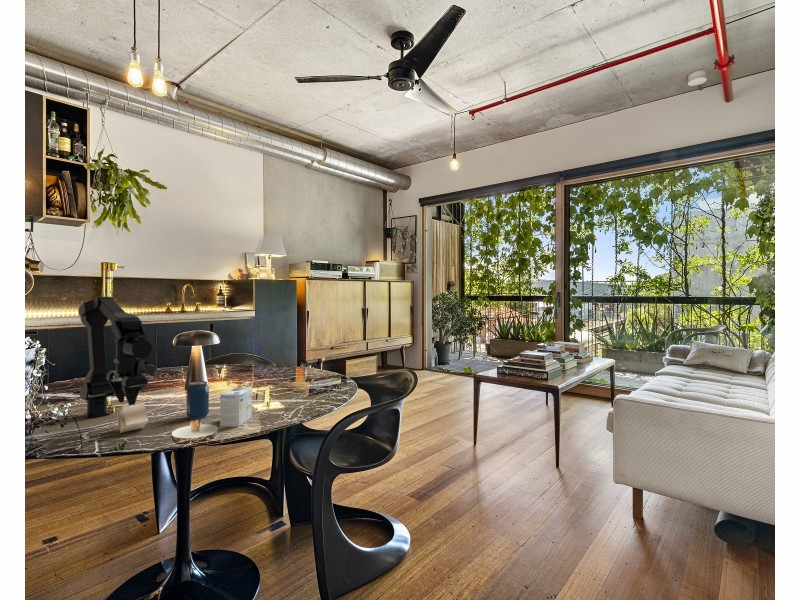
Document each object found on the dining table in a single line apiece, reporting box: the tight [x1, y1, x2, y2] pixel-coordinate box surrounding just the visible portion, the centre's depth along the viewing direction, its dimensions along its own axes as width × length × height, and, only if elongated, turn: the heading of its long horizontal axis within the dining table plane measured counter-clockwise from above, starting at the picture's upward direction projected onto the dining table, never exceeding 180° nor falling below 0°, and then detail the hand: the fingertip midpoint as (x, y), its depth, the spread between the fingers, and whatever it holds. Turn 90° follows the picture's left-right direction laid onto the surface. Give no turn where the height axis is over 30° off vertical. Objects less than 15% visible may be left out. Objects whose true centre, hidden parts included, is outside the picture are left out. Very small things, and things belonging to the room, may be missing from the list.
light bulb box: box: [219, 386, 253, 428], centre depth 137 cm, size 11×7×11 cm, turn 178°
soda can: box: [186, 380, 210, 420], centre depth 142 cm, size 7×7×12 cm
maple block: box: [116, 402, 149, 434], centre depth 127 cm, size 6×6×6 cm
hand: (126, 404), depth 130 cm, fingers open, 9 cm apart
